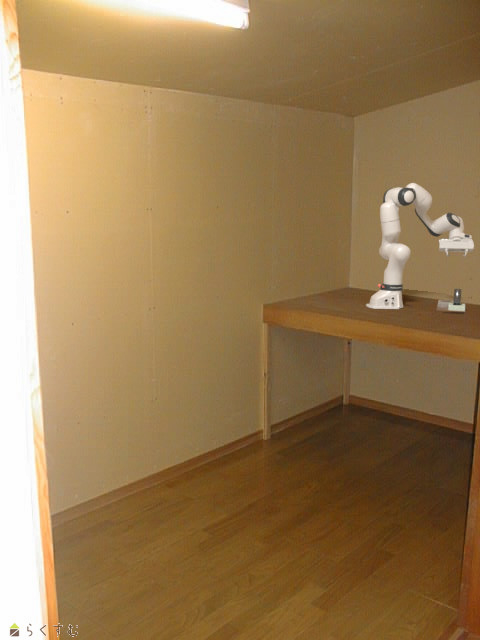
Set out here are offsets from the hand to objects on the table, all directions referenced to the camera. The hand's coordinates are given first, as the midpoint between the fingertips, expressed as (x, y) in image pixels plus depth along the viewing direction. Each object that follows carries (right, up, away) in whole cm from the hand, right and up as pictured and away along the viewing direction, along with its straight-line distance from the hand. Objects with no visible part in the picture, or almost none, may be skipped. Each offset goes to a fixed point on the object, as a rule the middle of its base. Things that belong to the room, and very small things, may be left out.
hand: (456, 255), depth 359 cm
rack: (-4, -33, -12) cm, 35 cm away
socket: (-7, -31, -1) cm, 31 cm away
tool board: (-6, -33, -6) cm, 34 cm away
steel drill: (-4, -33, -12) cm, 35 cm away
